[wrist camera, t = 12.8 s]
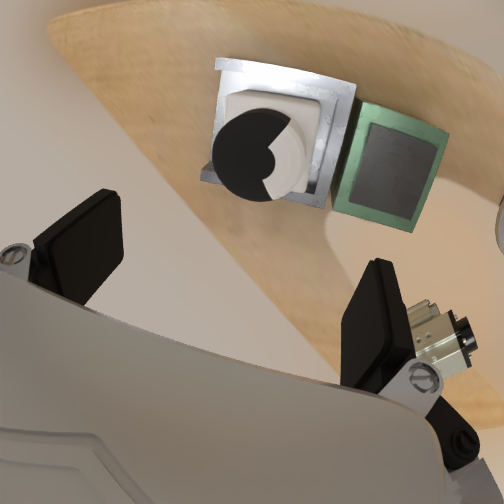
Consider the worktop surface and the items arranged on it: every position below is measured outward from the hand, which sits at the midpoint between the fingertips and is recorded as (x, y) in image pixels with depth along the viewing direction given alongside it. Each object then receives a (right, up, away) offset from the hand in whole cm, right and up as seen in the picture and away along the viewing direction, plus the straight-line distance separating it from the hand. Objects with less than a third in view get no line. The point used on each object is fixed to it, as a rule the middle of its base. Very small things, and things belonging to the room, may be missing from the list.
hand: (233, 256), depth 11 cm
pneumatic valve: (+24, -8, +27) cm, 37 cm away
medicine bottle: (+3, +12, +18) cm, 22 cm away
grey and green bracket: (+7, +12, +18) cm, 23 cm away
